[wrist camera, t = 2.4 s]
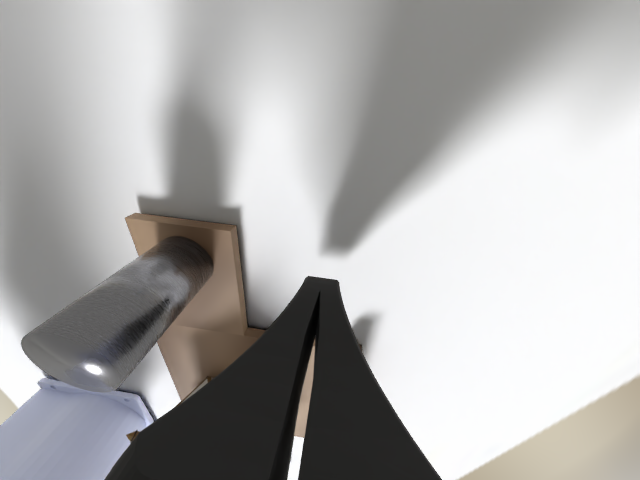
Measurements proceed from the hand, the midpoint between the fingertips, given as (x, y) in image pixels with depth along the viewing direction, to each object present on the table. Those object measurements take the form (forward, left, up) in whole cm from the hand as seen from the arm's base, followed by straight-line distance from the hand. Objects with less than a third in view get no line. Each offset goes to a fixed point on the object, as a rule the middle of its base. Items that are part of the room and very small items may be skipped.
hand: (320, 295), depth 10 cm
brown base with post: (-4, -8, -2) cm, 9 cm away
